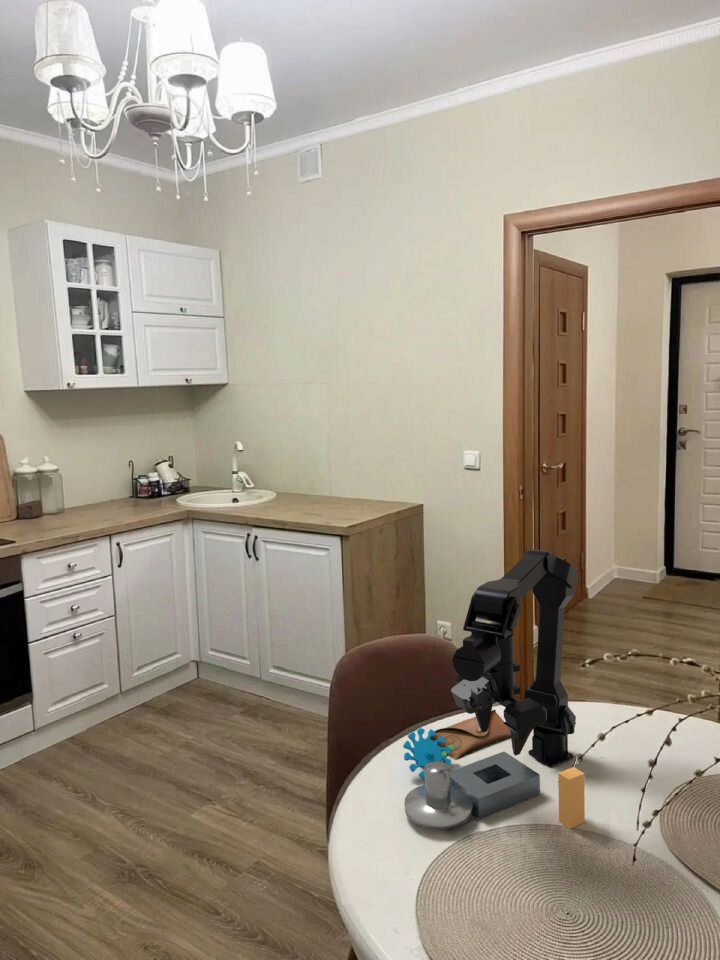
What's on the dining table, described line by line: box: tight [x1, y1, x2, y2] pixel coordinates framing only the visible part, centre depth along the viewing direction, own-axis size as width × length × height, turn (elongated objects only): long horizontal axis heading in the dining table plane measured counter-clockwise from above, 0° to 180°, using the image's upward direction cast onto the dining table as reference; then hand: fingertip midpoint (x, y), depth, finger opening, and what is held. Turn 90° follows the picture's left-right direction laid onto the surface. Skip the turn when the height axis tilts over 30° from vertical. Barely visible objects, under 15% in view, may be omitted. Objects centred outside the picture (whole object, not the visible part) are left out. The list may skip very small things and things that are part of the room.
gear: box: [402, 727, 454, 780], centre depth 147 cm, size 11×6×10 cm
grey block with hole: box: [403, 751, 541, 830], centre depth 134 cm, size 25×12×9 cm, turn 119°
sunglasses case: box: [430, 709, 511, 761], centre depth 158 cm, size 18×7×7 cm, turn 122°
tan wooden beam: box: [557, 766, 586, 830], centre depth 127 cm, size 4×2×9 cm
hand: (500, 742), depth 130 cm, fingers open, 9 cm apart
